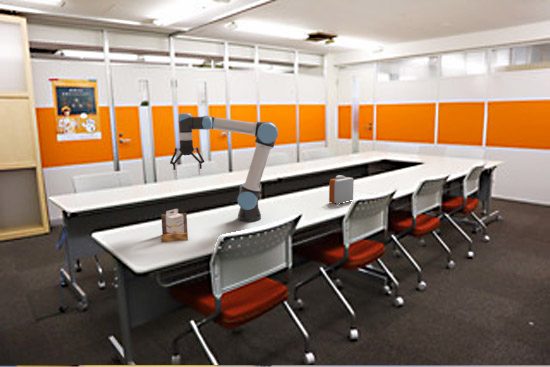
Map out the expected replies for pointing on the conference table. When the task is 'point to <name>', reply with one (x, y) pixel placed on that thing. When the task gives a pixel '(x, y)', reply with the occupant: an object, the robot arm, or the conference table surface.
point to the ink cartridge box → (174, 222)
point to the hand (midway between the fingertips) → (187, 174)
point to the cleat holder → (177, 236)
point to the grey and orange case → (341, 189)
